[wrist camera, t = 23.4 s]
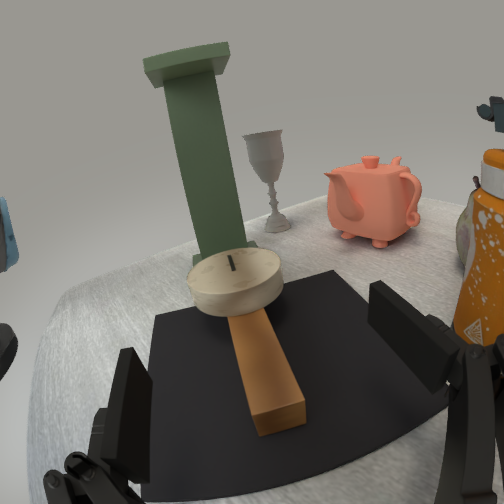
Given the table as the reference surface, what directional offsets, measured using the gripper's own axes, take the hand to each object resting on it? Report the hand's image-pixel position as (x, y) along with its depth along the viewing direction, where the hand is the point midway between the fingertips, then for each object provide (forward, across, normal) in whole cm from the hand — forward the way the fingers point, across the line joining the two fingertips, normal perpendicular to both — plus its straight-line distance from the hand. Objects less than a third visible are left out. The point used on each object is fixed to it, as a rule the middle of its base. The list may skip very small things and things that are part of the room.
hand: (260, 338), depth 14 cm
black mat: (+5, +1, -8) cm, 9 cm away
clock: (+7, 0, -7) cm, 10 cm away
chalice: (+37, +11, -8) cm, 40 cm away
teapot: (+24, +24, -8) cm, 35 cm away
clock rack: (+25, 0, -8) cm, 27 cm away
